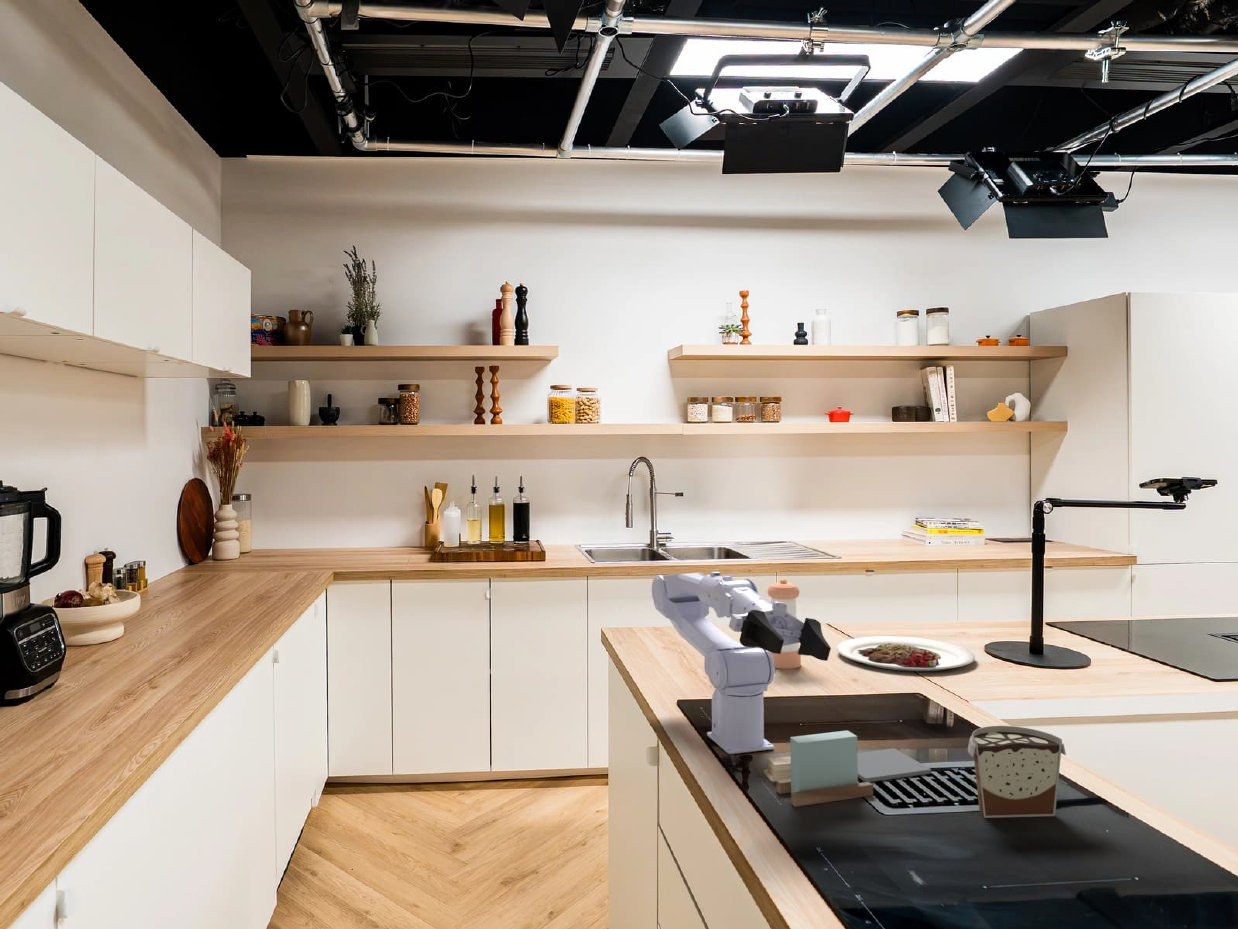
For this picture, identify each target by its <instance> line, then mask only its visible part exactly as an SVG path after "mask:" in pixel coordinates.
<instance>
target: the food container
mask: <svg viewBox="0 0 1238 929" xmlns="http://www.w3.org/2000/svg"><path fill="white" fill-rule="evenodd" d="M967 752H968V754H969V755H970V757H972V758H973V761H974V762H973V763H974V771H975V780H976V781H975V782H976V787H977V788H976V790H977V800H978V806H979V807H978V809H979V812H980V815H981V816H982V817H983V819H987V818H988V819H989V818H990V819H991V818H994V819H995V818H1027V817H1028V818H1031V817H1034V818H1035V817H1055V816H1056V808H1057V797H1058V789H1059V779H1060V778H1059V777H1060V768H1061V767H1060V766H1061V758H1062V756H1061V755H1062V754H1063V755H1064V756H1066V755H1067V754H1066V748H1065V744H1064V743H1063V739H1062V738H1060V737H1059V736H1056V735H1054V734H1051V733H1049V732H1045V731H1041V730H1038V729H1034V728H1030V727H1029V728H1028V727H1023V726H1016V725H1015V726H1014V725H989V726H988V725H987V726H983V727H979V728H977V729H975V730H974V731H973V732H972V734H971V736H970V738H969V741H968V745H967Z"/></svg>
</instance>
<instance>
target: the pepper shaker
mask: <svg viewBox="0 0 1238 929" xmlns="http://www.w3.org/2000/svg"><path fill="white" fill-rule="evenodd" d="M799 595H800V589H799V587H798V586H797V585H796V584H794V583H792V582H788V580H787V579H783V578H782V579H780V580H779V582H774V583H772V584H770V585H769V587H768V588H767V596H769V597H770V598H771V600H770V602H771V603H772V604H773V603H774V602H775V601H778V602H783V603H785V604H786V605H787V608H786V611H787V612H788V613H789V614H791V615H792V616H794V617H795V618H797V598H799ZM799 647H800V643H795V644H790V645H786V646H782V650H781V653H780V654H776V653H772V652H770V653H771V655H772V657H773V660H774V664H775V669H787V670H788V669H797V668H800V667H801V663H802V661H801V660H802V659H801V655H799V654H798V651H799Z"/></svg>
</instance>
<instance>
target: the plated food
mask: <svg viewBox="0 0 1238 929" xmlns="http://www.w3.org/2000/svg"><path fill="white" fill-rule="evenodd" d="M836 651H837V652H838V654H839V655H842V656H843V657H844V658H847V659H849V660H852V661H856V662H858V663H861V664H865V665H868V666H872V667H876V668H883V669H888V670H896V671H905V672H906V671H908V672H934V671H935V672H936V671H944V670H948V669H954V668H960V667H964V666H967V665H970V664H972V663H973V662H975V660H976V655H975V653H974V652H972V651H971V650H970V649H968V648H965V647H963V646H960V645H957V644H953V643H950V642H946V641H940V640H935V639H931V638H930V639H928V638H923V637H914V636H913V637H911V636H895V635H892V636H891V635H890V636H889V635H881V636H879V635H877V636H875V635H874V636H864V637H857V638H856V637H855V638H850V639H847V640H844V641H841V642H839V643H838V644H837V646H836Z"/></svg>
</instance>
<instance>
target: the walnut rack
mask: <svg viewBox="0 0 1238 929" xmlns="http://www.w3.org/2000/svg"><path fill="white" fill-rule="evenodd" d="M776 793H778V794H780V795H781V794H789V793H790V797H791V798H790V800H791V801H790V804H791V805H792V806H793V807H802V806H808V805H809V806H810V805H816V804H825V803H829V802H837V801H845V800H850V799H851V800H852V799H859V798H865V797H872V796H874V784H873V783H871V782H864V781H863V782H858V783H857V784H850V785H843V786H835V787H828V788H821V789H814V790H806V791H799V792H792V793H791V779H784V780H777V781H776Z"/></svg>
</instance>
